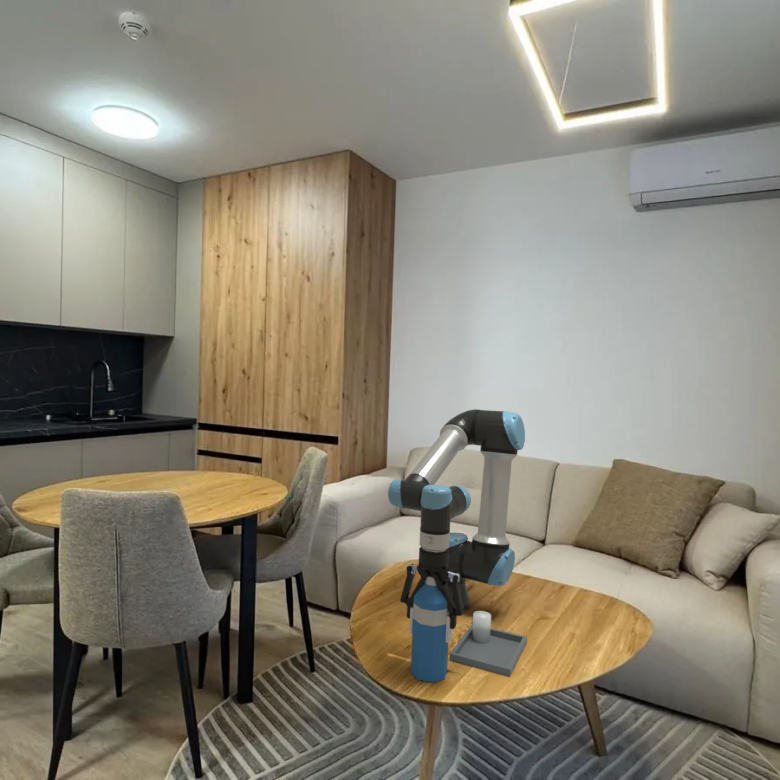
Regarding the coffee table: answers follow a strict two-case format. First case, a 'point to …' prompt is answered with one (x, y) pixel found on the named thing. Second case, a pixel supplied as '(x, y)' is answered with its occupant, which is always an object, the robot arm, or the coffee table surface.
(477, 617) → the white rounded column
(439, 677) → the water bottle
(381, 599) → the coffee table surface
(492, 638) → the tray
